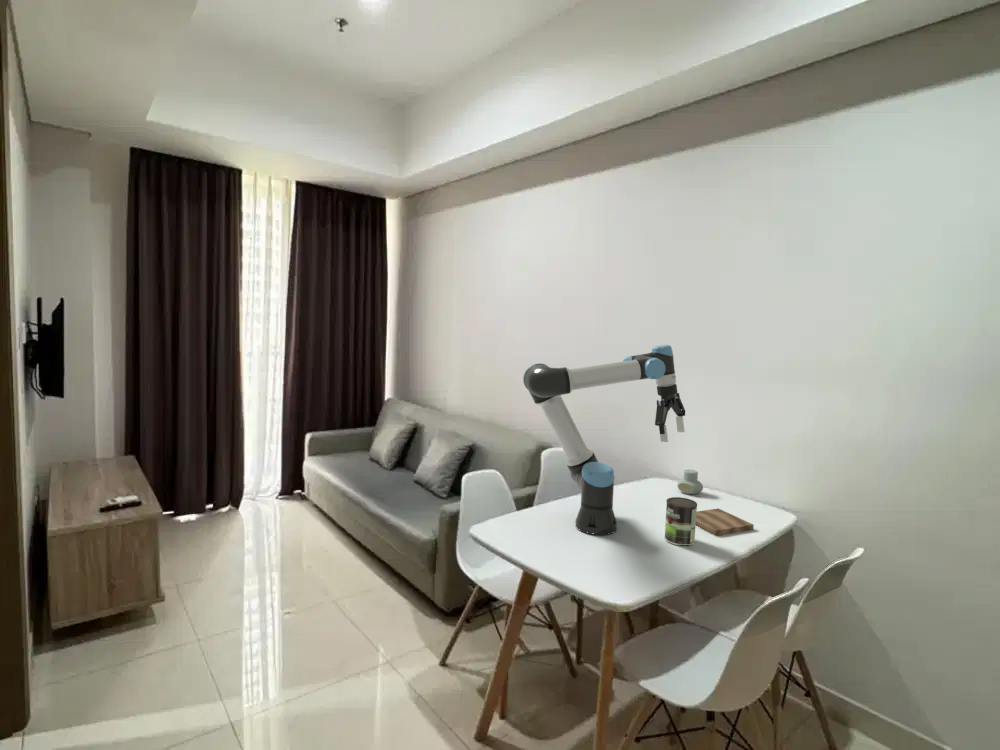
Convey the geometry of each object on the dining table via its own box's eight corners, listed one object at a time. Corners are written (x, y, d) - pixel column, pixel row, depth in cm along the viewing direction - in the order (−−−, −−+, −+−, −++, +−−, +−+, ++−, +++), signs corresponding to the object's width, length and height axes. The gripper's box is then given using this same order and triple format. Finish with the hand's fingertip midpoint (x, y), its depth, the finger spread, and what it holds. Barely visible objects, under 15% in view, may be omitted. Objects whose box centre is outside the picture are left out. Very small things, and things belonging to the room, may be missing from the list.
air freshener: (705, 493, 245) (706, 472, 244) (696, 497, 239) (698, 475, 238) (683, 487, 253) (684, 466, 252) (673, 491, 247) (675, 470, 246)
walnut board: (715, 535, 197) (715, 530, 197) (681, 518, 214) (682, 513, 214) (753, 529, 204) (753, 524, 203) (718, 513, 220) (718, 508, 220)
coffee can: (678, 548, 186) (681, 508, 184) (658, 537, 195) (660, 499, 194) (701, 543, 190) (703, 504, 189) (680, 532, 199) (682, 495, 198)
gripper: (659, 391, 203) (666, 446, 205) (690, 377, 220) (696, 428, 222) (641, 391, 208) (648, 445, 211) (673, 378, 225) (679, 427, 228)
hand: (673, 436), depth 217 cm, fingers open, 13 cm apart
